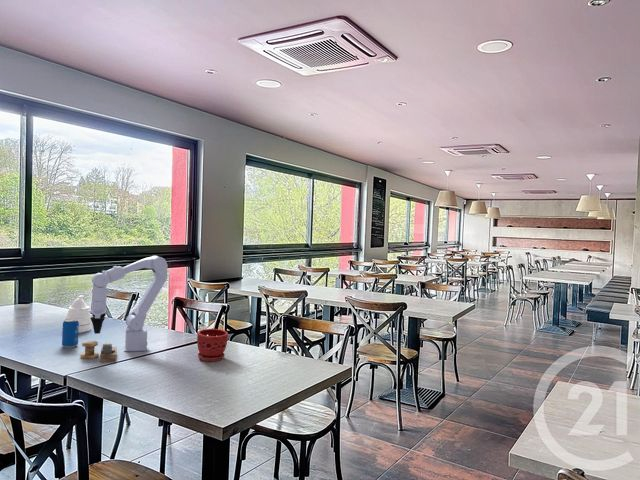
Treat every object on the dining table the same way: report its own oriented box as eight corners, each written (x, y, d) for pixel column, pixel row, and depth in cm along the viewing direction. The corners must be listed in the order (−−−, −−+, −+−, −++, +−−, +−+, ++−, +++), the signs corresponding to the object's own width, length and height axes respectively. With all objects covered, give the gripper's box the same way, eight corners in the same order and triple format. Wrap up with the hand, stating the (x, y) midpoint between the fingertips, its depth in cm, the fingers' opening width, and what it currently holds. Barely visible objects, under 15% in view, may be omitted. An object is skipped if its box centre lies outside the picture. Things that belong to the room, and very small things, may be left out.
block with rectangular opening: (116, 353, 208) (116, 346, 208) (115, 361, 197) (115, 354, 197) (101, 354, 206) (101, 347, 206) (99, 362, 195) (100, 355, 195)
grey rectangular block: (111, 357, 202) (112, 342, 202) (111, 360, 199) (112, 344, 199) (102, 358, 201) (103, 342, 200) (102, 360, 197) (102, 345, 197)
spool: (99, 354, 206) (99, 340, 206) (97, 358, 200) (98, 344, 200) (81, 354, 204) (81, 340, 204) (79, 359, 197) (80, 345, 197)
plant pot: (190, 360, 205) (191, 332, 205) (207, 353, 217) (209, 327, 217) (215, 365, 200) (216, 336, 200) (232, 357, 213) (233, 331, 212)
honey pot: (96, 329, 249) (98, 295, 248) (72, 333, 238) (74, 298, 237) (82, 325, 255) (83, 292, 255) (58, 329, 245) (60, 294, 244)
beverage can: (71, 348, 212) (72, 322, 212) (58, 347, 213) (59, 320, 213) (81, 345, 218) (82, 319, 218) (68, 343, 220) (69, 318, 219)
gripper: (90, 297, 213) (89, 327, 213) (87, 303, 199) (86, 335, 200) (107, 297, 215) (106, 327, 216) (105, 303, 202) (104, 335, 202)
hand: (97, 331), depth 208 cm, fingers open, 7 cm apart
